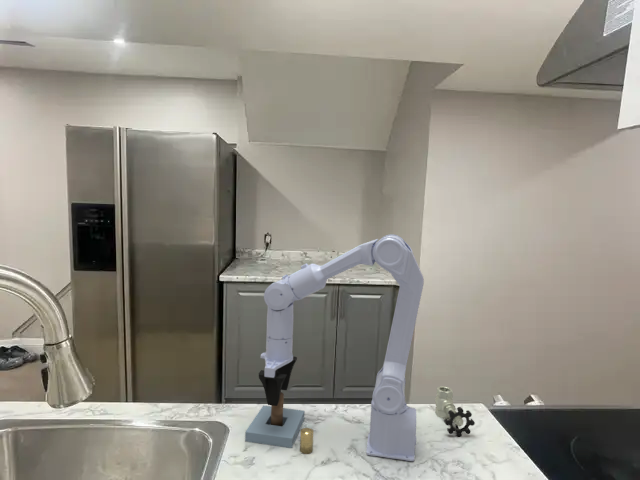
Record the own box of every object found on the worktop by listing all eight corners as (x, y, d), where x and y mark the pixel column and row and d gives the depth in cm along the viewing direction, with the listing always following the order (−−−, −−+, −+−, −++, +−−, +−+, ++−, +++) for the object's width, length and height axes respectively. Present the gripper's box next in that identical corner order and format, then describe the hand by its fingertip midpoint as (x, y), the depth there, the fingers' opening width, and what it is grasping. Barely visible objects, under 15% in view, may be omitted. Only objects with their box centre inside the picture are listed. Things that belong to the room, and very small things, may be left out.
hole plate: (304, 419, 96) (304, 410, 96) (291, 447, 84) (292, 438, 84) (263, 413, 98) (263, 405, 97) (245, 441, 86) (245, 431, 86)
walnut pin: (283, 427, 92) (284, 392, 91) (280, 433, 89) (282, 397, 89) (272, 425, 92) (273, 391, 92) (269, 431, 90) (270, 396, 89)
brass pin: (313, 447, 85) (314, 428, 84) (311, 454, 82) (312, 435, 82) (301, 445, 85) (302, 427, 85) (298, 453, 83) (299, 433, 82)
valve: (427, 411, 103) (444, 437, 91) (428, 385, 102) (446, 408, 90) (453, 411, 103) (473, 437, 91) (454, 385, 103) (475, 408, 91)
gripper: (271, 325, 97) (269, 381, 98) (250, 344, 83) (248, 410, 84) (300, 327, 96) (298, 384, 97) (284, 348, 82) (282, 414, 83)
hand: (277, 396), depth 90 cm, fingers open, 7 cm apart
